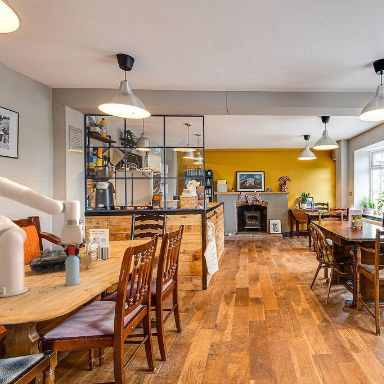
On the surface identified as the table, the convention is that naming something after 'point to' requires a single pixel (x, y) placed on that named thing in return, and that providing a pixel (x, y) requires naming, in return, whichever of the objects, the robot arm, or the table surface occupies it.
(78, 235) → the robot arm
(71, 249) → the cap
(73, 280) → the bottle
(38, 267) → the tank
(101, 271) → the table surface
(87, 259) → the wall sconce
